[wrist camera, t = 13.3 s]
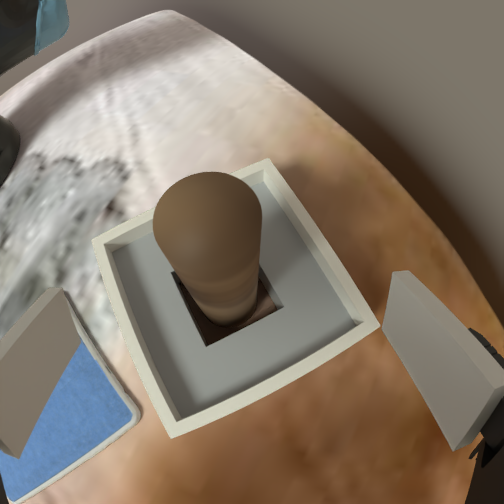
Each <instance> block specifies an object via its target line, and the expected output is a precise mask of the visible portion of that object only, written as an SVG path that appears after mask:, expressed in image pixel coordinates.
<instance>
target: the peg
mask: <svg viewBox="0 0 504 504" xmlns="http://www.w3.org/2000/svg"><path fill="white" fill-rule="evenodd" d="M261 230H262V209H261V204H260V202H259V199H258V197H257V196H256V194H255V192H254V191H253V190H252V189H251V188H250V187H249V186H248V185H247V184H246V183H245V182H243V181H242V180H240V179H239V178H237V177H234V176H232V175H229V174H226V173H220V172H202V173H197V174H193V175H190V176H188V177H185V178H183V179H181V180H179V181H178V182H176V183H175V184H174V185H172V186H171V187H170V188H169V189H168V190H167V191H166V192H165V193H164V194H163V196H162V197H161V198H160V200H159V202H158V203H157V206H156V208H155V211H154V215H153V233H154V237H155V240H156V242H157V244H158V246H159V247H160V249H161V251H162V252H163V254H164V255H165V257H166V258H167V260H168V261H169V263H170V264H171V266H172V268H173V269H174V271H175V272H176V274H177V275H178V277H179V278H180V280H181V281H182V283H183V284H184V286H185V287H186V288H187V290H188V291H189V293H190V294H191V296H192V297H193V299H194V300H195V302H196V303H197V305H198V306H199V307H200V309H201V310H202V312H203V313H204V315H205V316H206V317H207V318H208V319H209V320H210V321H211V322H212V323H214V324H216V325H218V326H221V327H236V326H239V325H241V324H243V323H244V322H246V321H247V320H248V319H249V318H250V317H251V316H252V314H253V312H254V310H255V307H256V300H257V286H258V272H259V258H260V244H261Z"/></svg>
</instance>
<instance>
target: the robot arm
mask: <svg viewBox="0 0 504 504" xmlns="http://www.w3.org/2000/svg"><path fill="white" fill-rule="evenodd" d="M68 27H69V16H68V10H67V5H66V0H0V76H2V75H3V74H4V73H6V72H8V71H9V70H10V69H12V68H13V67H15V66H16V65H18V64H19V63H21V62H23V61H24V60H26V59H27V58H29V57H31V56H32V55H34V56H36V55H37V54H38V53H39V51H41V50H42V49H44V48H45V47H47V46H49V45H51V44H52V43H54V42H56V41H57V40H59V39H60V38H62V37H63V36H64V35H65V33H66V32H67V30H68ZM19 146H20V136H19V133H18V131H17V130H16V129H15V127H14V126H13V124H12V123H11V122H10V121H9V120H7V119H6V118H4V117H3V116H1V115H0V185H1V184H2V182H3V181H4V179H5V178H6V176H7V174H8V173H9V171H10V169H11V167H12V165H13V163H14V161H15V158H16V156H17V153H18V150H19ZM382 331H383V333H384V334H385V336H386V337H387V339H388V341H389V342H390V344H391V345H392V347H393V348H394V350H395V352H396V353H397V355H398V357H399V358H400V360H401V361H402V363H403V365H404V366H405V368H406V370H407V371H408V373H409V375H410V376H411V378H412V380H413V381H414V383H415V385H416V386H417V388H418V390H419V391H420V393H421V395H422V396H423V398H424V400H425V402H426V403H427V405H428V407H429V409H430V410H431V412H432V414H433V416H434V418H435V419H436V421H437V423H438V425H439V427H440V428H441V430H442V432H443V434H444V436H445V438H446V439H447V441H448V443H449V445H450V447H451V449H452V451H455V450H457V449H460V448H462V447H464V446H466V445H468V444H470V443H472V441H473V440H474V439H475V437H476V436H477V435H478V433H479V432H481V434H482V435H483V437H484V438H483V439H482V440H481V442H480V443H479V444H478V445H477V447H476V448H475V449H474V450H473V452H472V453H471V455H470V457H469V459H472V458H473V457H474V456H475V454H476V453H477V452H478V455H477V458H476V464H475V468H474V472H473V476H472V480H471V484H470V488H469V491H468V494H467V498H466V501H465V504H504V358H503V357H502V356H501V355H500V354H498V353H497V351H496V349H495V348H494V347H493V346H491V344H490V343H489V342H488V341H487V340H486V339H485V338H484V337H483V335H481V334H480V333H478V332H476V331H475V330H473V329H471V328H468V329H467V328H466V327H465V326H464V325H463V324H462V323H461V322H460V320H459V319H458V318H457V317H456V316H455V315H454V314H453V313H452V312H451V311H450V310H449V309H448V308H447V307H446V306H445V305H444V304H443V303H442V302H441V301H440V300H439V299H438V298H437V297H436V296H435V295H434V294H433V293H432V292H431V291H430V290H429V289H428V288H427V287H426V286H425V285H424V284H423V283H422V282H421V281H419V280H418V279H417V278H416V277H415V276H414V275H413V274H412V273H411V272H410V271H409V270H407V271H396V272H392V278H391V284H390V290H389V296H388V301H387V306H386V311H385V316H384V321H383V325H382ZM80 344H81V340H80V337H79V335H78V332H77V329H76V327H75V324H74V321H73V318H72V315H71V312H70V310H69V307H68V304H67V301H66V297H65V294H64V291H63V288H48V289H47V290H46V291H45V292H44V293H43V294H42V295H41V296H40V297H39V298H38V299H37V300H36V301H35V302H34V303H33V304H32V306H31V307H30V308H29V309H28V310H27V311H26V312H25V313H24V314H23V315H22V316H21V317H20V319H19V320H18V321H17V322H16V323H15V324H14V325H13V326H12V327H11V329H10V330H9V331H8V332H7V333H6V334H5V336H4V337H3V338H2V339H1V340H0V449H1V450H2V452H3V453H5V454H7V455H9V456H12V457H14V458H17V459H20V456H21V454H22V452H23V450H24V448H25V445H26V443H27V441H28V439H29V437H30V435H31V433H32V431H33V429H34V427H35V425H36V423H37V421H38V419H39V417H40V415H41V413H42V411H43V409H44V407H45V405H46V403H47V401H48V400H49V398H50V396H51V394H52V392H53V390H54V388H55V387H56V385H57V383H58V381H59V379H60V378H61V376H62V374H63V372H64V371H65V369H66V367H67V365H68V364H69V362H70V360H71V359H72V357H73V355H74V354H75V352H76V350H77V349H78V347H79V345H80ZM0 504H9V502H8V499H7V496H6V492H5V489H4V485H3V481H2V477H1V473H0Z"/></svg>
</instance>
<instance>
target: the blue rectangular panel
mask: <svg viewBox="0 0 504 504" xmlns="http://www.w3.org/2000/svg"><path fill="white" fill-rule="evenodd" d="M65 297H66V296H65ZM66 301H67V304H68V307H69V310H70V312H71V315H72V318H73V321H74V324H75V327H76V329H77V332H78V335H79V337H80V340H81V344H80V345H79V347H78V349H77V350H76V352H75V354H74V355H73V357H72V359H71V360H70V362H69V364H68V365H67V367H66V369H65V371H64V372H63V374H62V376H61V378H60V379H59V381H58V383H57V385H56V387H55V388H54V390H53V392H52V394H51V396H50V398H49V400H48V401H47V403H46V405H45V407H44V409H43V411H42V413H41V415H40V417H39V419H38V421H37V423H36V425H35V427H34V429H33V431H32V433H31V435H30V437H29V439H28V441H27V443H26V445H25V448H24V450H23V452H22V454H21V456H20V459H17V458H14V457H12V456H9V455H7V454H5V453H3V452H2V450H1V449H0V473H1V477H2V481H3V485H4V489H5V492H6V496H7V498H8V499H9V500H10V501H11V502H12V503H14V504H21V503H22V502H24V501H26V500H27V499H29V498H30V497H32V496H34V495H35V494H37V493H39V492H40V491H42V490H43V489H45V488H46V487H48V486H49V485H51V484H53V483H54V482H56V481H57V480H59V479H60V478H62V477H63V476H65V475H66V474H68V473H69V472H71V471H72V470H74V469H75V468H77V467H78V466H79V465H81V464H82V463H84V462H85V461H87V460H88V459H90V458H92V457H94V456H95V455H96V454H97V453H99V452H101V451H102V450H103V449H105V448H106V447H107V446H108V445H109V444H111V443H112V442H114V441H116V440H117V439H118V438H119V437H120V436H122V435H123V434H124V433H126V432H127V431H128V430H130V429H131V428H132V427H134V426H135V425H136V424H137V423H138V422H139V420H140V418H141V414H140V411H139V408H138V407H137V405H136V404H135V403H134V402H133V400H132V399H131V398H130V396H129V395H128V394H126V393H125V392H124V389H123V387H122V386H121V384H120V383H119V382H118V380H117V379H116V377H115V376H114V374H113V373H112V372H111V370H110V369H109V367H108V366H107V364H106V363H105V361H104V360H103V358H102V357H101V355H100V354H99V352H98V351H97V349H96V348H95V346H94V344H93V343H92V341H91V340H90V338H89V336H88V335H87V333H86V331H85V330H84V328H83V326H82V325H81V323H80V321H79V319H78V318H77V316H76V314H75V312H74V310H73V309H72V307H71V305H70V303H69V301H68V299H67V298H66Z"/></svg>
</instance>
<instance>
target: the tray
mask: <svg viewBox="0 0 504 504" xmlns="http://www.w3.org/2000/svg"><path fill="white" fill-rule="evenodd" d="M229 175H232V176H234V177H237V178H239V179H240V180H242V181H243V182H245V183H246V184H247V185H248V186H249V187H250V188H251V189H252V190H253V191H254V192H255V194H256V196H257V197H258V199H259V202H260V204H261V209H262V230H261V244H260V258H259V272H258V276H259V278H260V280H261V281H262V283H263V285H264V287H265V288H266V290H267V292H268V294H269V295H270V297H271V299H272V301H273V302H274V304H275V306H276V307H277V309H278V311H276V312H274V313H272V314H270V315H268V316H266V317H264V318H262V319H261V320H259V321H257V322H255V323H253V324H251V325H249V326H247V327H245V328H243V329H241V330H239V331H237V332H235V333H233V334H231V335H229V336H227V337H225V338H223V339H221V340H219V341H217V342H215V343H213V344H211V345H209V346H208V344H207V342H206V340H205V338H204V336H203V334H202V332H201V330H200V328H199V326H198V324H197V322H196V320H195V318H194V316H193V313H192V311H191V309H190V307H189V305H188V303H187V301H186V299H185V297H184V294H183V292H182V290H181V288H180V286H179V283H181V282H182V281H181V280H180V278H179V277H178V275H177V274H176V272H175V271H174V269H173V268H172V266H171V264H170V263H169V261H168V260H167V258H166V257H165V255H164V254H163V252H162V251H161V249H160V247H159V246H158V244H157V242H156V240H155V237H154V233H153V215H154V211H155V208H156V207H154V208H152V209H150V210H148V211H146V212H144V213H142V214H140V215H138V216H136V217H134V218H132V219H130V220H128V221H126V222H124V223H122V224H120V225H118V226H116V227H114V228H112V229H110V230H108V231H107V232H105V233H103V234H101V235H99V236H97V237H95V238H93V239H92V244H93V248H94V251H95V255H96V258H97V262H98V265H99V269H100V272H101V275H102V278H103V282H104V285H105V288H106V291H107V294H108V297H109V300H110V303H111V306H112V308H113V311H114V314H115V317H116V319H117V322H118V325H119V328H120V330H121V333H122V335H123V338H124V340H125V343H126V345H127V348H128V350H129V353H130V355H131V358H132V360H133V362H134V365H135V367H136V369H137V371H138V374H139V376H140V378H141V380H142V383H143V385H144V387H145V389H146V391H147V393H148V395H149V398H150V400H151V402H152V404H153V406H154V408H155V410H156V412H157V414H158V416H159V418H160V420H161V421H162V423H163V425H164V427H165V429H166V431H167V433H168V435H169V436H170V438H171V439H172V438H175V437H177V436H180V435H182V434H185V433H187V432H189V431H192V430H194V429H197V428H199V427H201V426H204V425H206V424H208V423H211V422H213V421H215V420H217V419H219V418H222V417H224V416H226V415H228V414H230V413H232V412H234V411H237V410H239V409H241V408H243V407H245V406H247V405H249V404H251V403H253V402H255V401H257V400H259V399H261V398H263V397H265V396H267V395H268V394H270V393H272V392H274V391H276V390H278V389H280V388H282V387H283V386H285V385H287V384H289V383H291V382H292V381H294V380H296V379H298V378H300V377H301V376H303V375H305V374H306V373H308V372H310V371H312V370H313V369H315V368H317V367H318V366H320V365H322V364H323V363H325V362H327V361H328V360H330V359H331V358H333V357H335V356H336V355H338V354H339V353H341V352H343V351H344V350H346V349H347V348H349V347H350V346H352V345H353V344H355V343H356V342H358V341H359V340H361V339H362V338H364V337H365V336H367V335H368V334H370V333H371V332H373V331H374V330H376V329H377V328H378V327H380V324H379V322H378V321H377V319H376V317H375V316H374V314H373V312H372V311H371V309H370V307H369V306H368V304H367V302H366V301H365V299H364V297H363V296H362V294H361V293H360V291H359V289H358V288H357V286H356V285H355V283H354V281H353V280H352V278H351V277H350V275H349V274H348V272H347V270H346V269H345V267H344V266H343V264H342V263H341V261H340V260H339V258H338V257H337V255H336V254H335V252H334V251H333V249H332V247H331V246H330V244H329V243H328V241H327V240H326V238H325V237H324V236H323V234H322V233H321V231H320V230H319V228H318V227H317V225H316V224H315V222H314V221H313V219H312V218H311V216H310V215H309V214H308V212H307V211H306V209H305V208H304V206H303V205H302V204H301V202H300V201H299V199H298V198H297V196H296V195H295V194H294V192H293V191H292V189H291V188H290V187H289V185H288V184H287V183H286V181H285V180H284V178H283V177H282V176H281V174H280V173H279V172H278V170H277V169H276V167H275V166H274V165H273V163H272V162H271V161H270V159H269V158H267V159H264V160H262V161H259V162H257V163H254V164H252V165H249V166H247V167H244V168H242V169H239V170H237V171H235V172H232V173H230V174H229Z"/></svg>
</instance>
